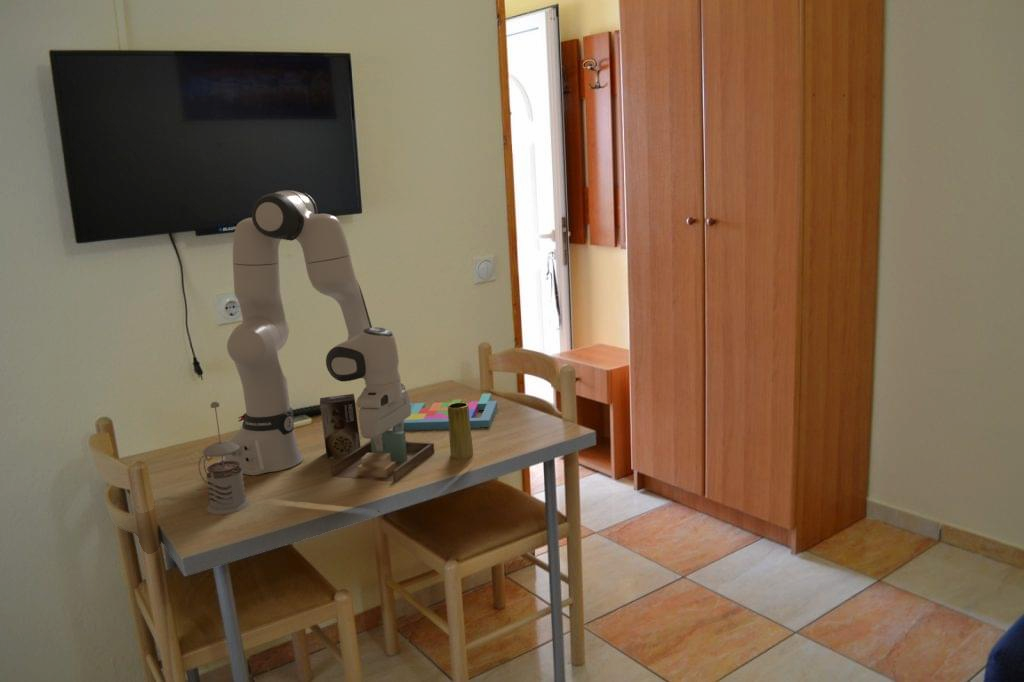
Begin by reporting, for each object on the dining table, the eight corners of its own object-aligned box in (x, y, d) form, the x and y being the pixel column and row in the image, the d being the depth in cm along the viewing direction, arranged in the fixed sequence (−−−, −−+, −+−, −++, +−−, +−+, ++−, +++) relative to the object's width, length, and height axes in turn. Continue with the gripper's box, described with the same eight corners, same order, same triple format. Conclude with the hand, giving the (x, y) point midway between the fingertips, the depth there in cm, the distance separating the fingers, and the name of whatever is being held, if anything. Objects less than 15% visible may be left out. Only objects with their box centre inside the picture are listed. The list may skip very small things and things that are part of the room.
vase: (452, 464, 218) (447, 409, 215) (448, 456, 224) (444, 403, 221) (476, 460, 219) (471, 406, 216) (471, 453, 225) (467, 400, 222)
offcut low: (358, 475, 211) (357, 466, 211) (368, 467, 216) (367, 459, 215) (386, 477, 208) (385, 469, 208) (396, 470, 213) (395, 461, 213)
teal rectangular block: (372, 459, 222) (369, 431, 220) (376, 457, 223) (373, 429, 222) (403, 462, 218) (401, 434, 217) (407, 459, 220) (404, 431, 219)
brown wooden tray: (331, 479, 212) (329, 466, 211) (374, 451, 231) (373, 438, 230) (396, 485, 206) (394, 471, 205) (434, 455, 225) (433, 443, 224)
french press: (231, 516, 194) (216, 409, 188) (191, 510, 198) (175, 406, 193) (259, 499, 202) (246, 396, 197) (221, 494, 207) (207, 394, 202)
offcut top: (362, 466, 211) (361, 458, 210) (368, 461, 214) (367, 452, 214) (385, 467, 209) (384, 458, 209) (391, 461, 213) (390, 453, 212)
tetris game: (489, 429, 245) (500, 401, 273) (489, 420, 245) (500, 393, 272) (393, 432, 248) (413, 404, 276) (392, 423, 248) (412, 396, 275)
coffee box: (360, 451, 232) (354, 393, 229) (361, 458, 226) (355, 399, 223) (326, 455, 231) (319, 397, 227) (326, 463, 224) (319, 403, 221)
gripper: (392, 380, 228) (398, 430, 231) (352, 402, 209) (358, 457, 212) (414, 381, 226) (419, 431, 228) (375, 403, 207) (381, 458, 210)
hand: (389, 444), depth 220 cm, fingers open, 8 cm apart
